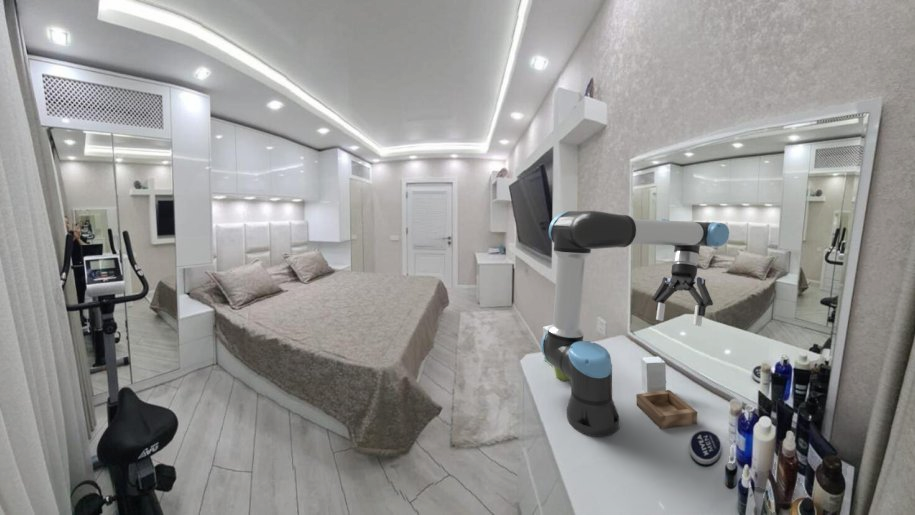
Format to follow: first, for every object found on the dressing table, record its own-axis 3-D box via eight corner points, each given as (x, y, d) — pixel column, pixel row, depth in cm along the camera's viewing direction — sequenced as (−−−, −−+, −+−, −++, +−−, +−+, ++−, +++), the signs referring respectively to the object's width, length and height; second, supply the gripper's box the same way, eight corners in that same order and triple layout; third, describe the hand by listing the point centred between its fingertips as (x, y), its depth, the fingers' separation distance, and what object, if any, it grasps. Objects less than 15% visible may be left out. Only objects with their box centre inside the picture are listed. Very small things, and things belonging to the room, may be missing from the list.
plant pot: (551, 382, 118) (549, 361, 117) (551, 369, 127) (550, 349, 125) (577, 384, 115) (576, 362, 114) (576, 371, 124) (575, 350, 122)
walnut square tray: (660, 428, 89) (660, 416, 89) (636, 405, 100) (636, 394, 100) (696, 424, 90) (697, 411, 89) (669, 401, 101) (669, 389, 100)
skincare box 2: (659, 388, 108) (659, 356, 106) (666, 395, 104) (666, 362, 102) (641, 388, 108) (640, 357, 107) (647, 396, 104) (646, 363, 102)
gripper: (730, 266, 102) (723, 330, 99) (660, 269, 126) (653, 320, 123) (715, 260, 100) (707, 325, 97) (646, 264, 124) (639, 316, 121)
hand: (677, 322), depth 110 cm, fingers open, 13 cm apart
